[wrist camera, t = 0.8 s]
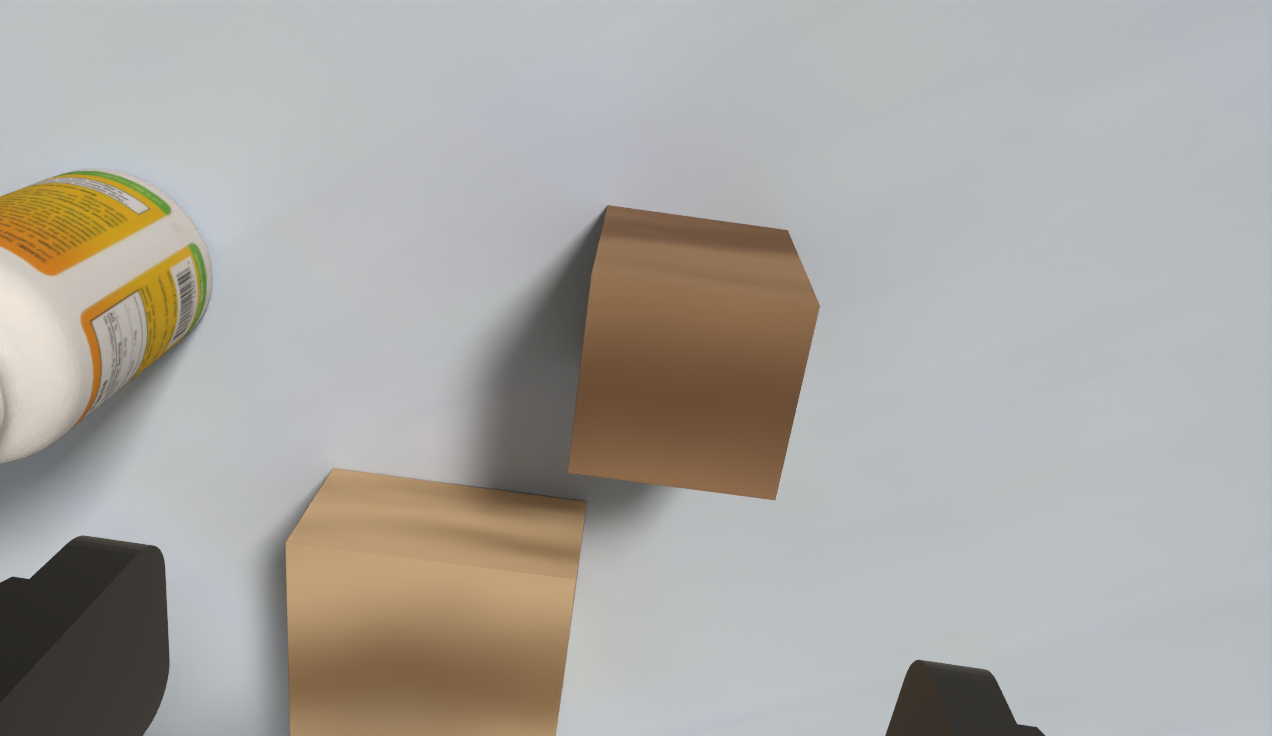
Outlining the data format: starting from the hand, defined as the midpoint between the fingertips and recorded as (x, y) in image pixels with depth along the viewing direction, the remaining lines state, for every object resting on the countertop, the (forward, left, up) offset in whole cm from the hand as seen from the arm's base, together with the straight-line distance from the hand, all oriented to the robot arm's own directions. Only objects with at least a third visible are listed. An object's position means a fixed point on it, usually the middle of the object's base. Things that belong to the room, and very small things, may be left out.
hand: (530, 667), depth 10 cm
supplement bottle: (+3, -14, -18) cm, 22 cm away
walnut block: (+2, +2, -17) cm, 18 cm away
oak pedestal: (+13, -4, -17) cm, 22 cm away
